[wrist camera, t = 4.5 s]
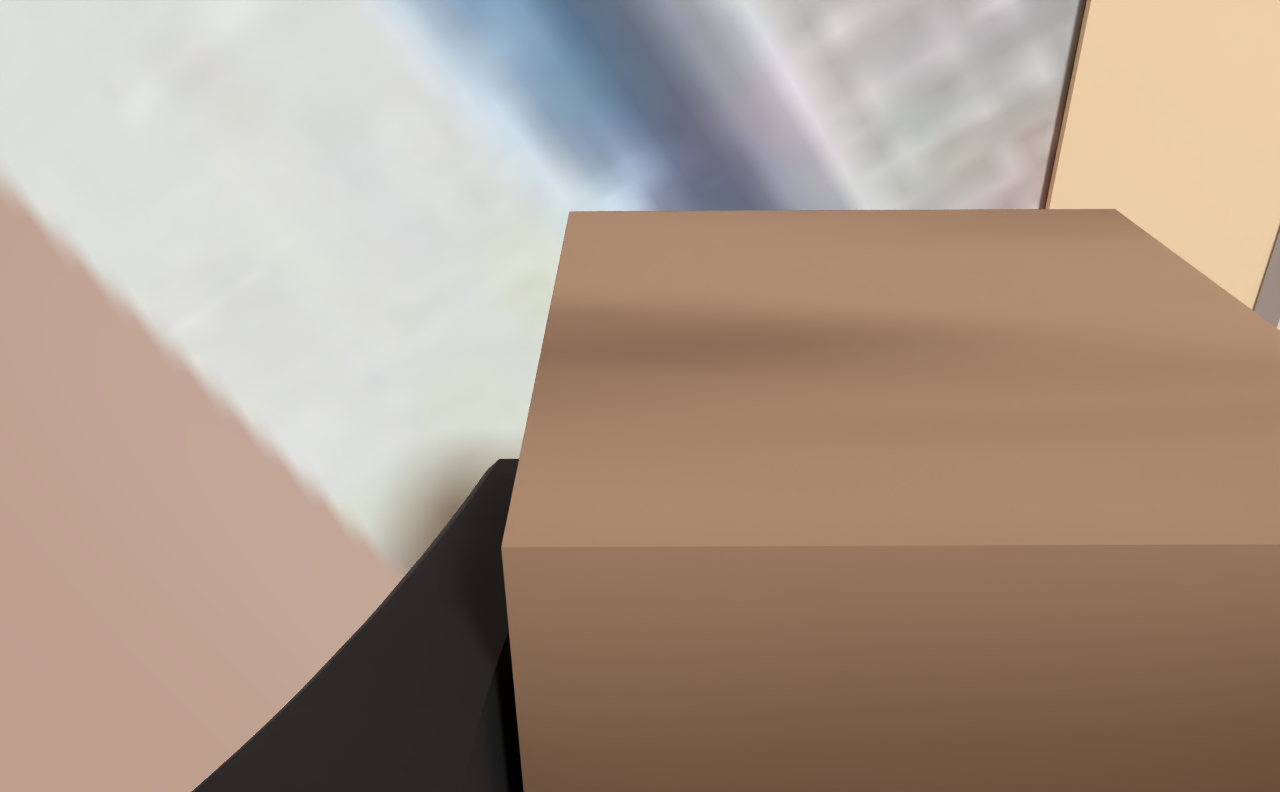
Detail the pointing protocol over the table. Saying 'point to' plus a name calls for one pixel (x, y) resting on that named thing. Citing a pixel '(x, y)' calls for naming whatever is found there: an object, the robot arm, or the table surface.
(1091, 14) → the envelope
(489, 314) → the table surface
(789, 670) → the walnut block
